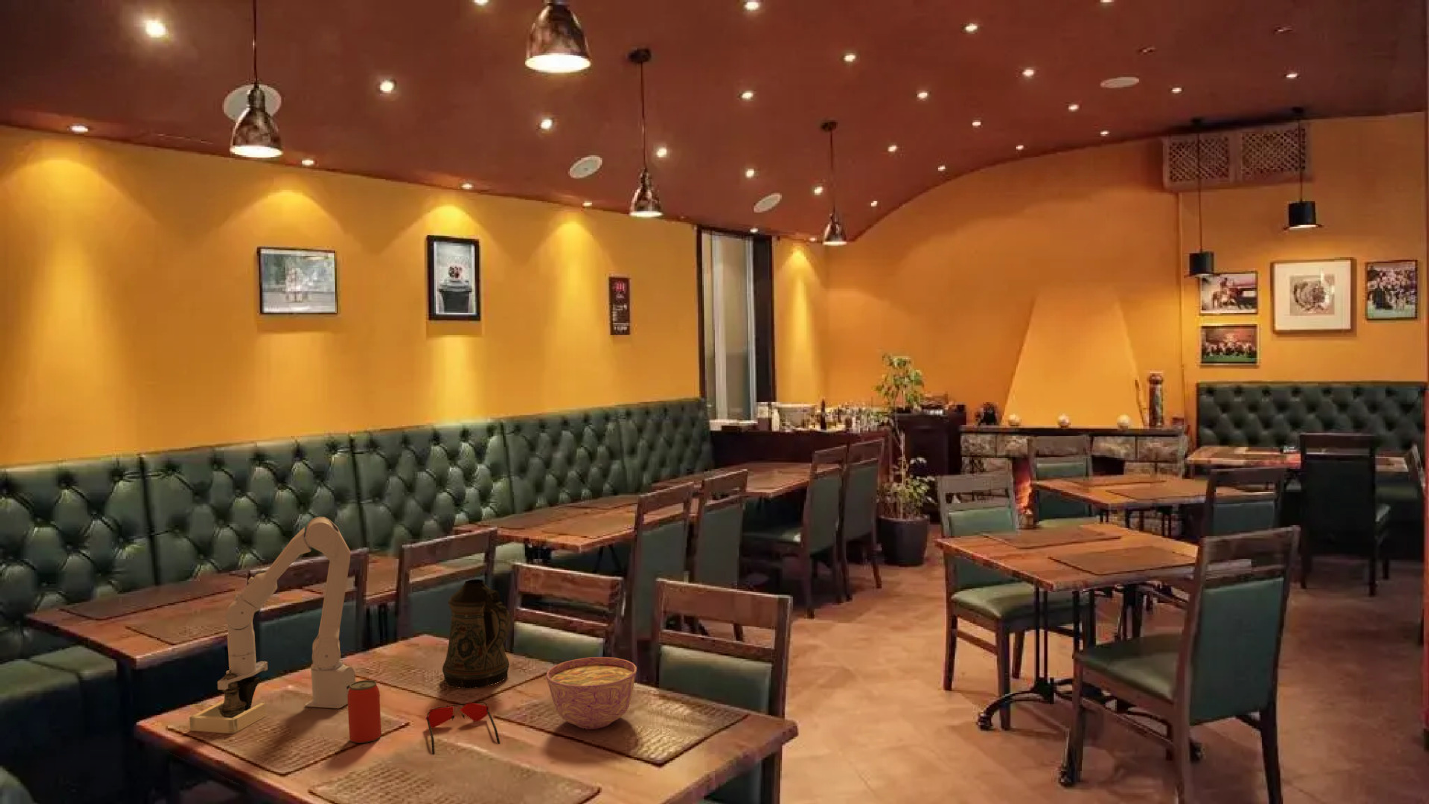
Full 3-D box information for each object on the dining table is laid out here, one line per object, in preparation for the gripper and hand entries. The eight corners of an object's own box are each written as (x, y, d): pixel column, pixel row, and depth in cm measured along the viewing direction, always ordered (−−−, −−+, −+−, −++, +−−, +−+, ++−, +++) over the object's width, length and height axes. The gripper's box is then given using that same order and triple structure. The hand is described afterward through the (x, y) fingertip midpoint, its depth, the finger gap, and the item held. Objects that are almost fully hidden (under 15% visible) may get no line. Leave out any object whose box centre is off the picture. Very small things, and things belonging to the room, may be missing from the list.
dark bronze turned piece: (235, 726, 230) (232, 674, 230) (213, 725, 232) (209, 673, 231) (252, 716, 236) (249, 665, 235) (230, 715, 237) (227, 664, 237)
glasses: (489, 719, 231) (488, 697, 231) (500, 745, 216) (499, 722, 215) (425, 729, 226) (424, 707, 226) (432, 756, 211) (431, 732, 211)
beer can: (352, 746, 216) (349, 691, 216) (347, 736, 222) (344, 682, 221) (384, 740, 219) (381, 685, 219) (378, 730, 225) (376, 677, 225)
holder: (266, 715, 236) (265, 703, 236) (233, 733, 226) (233, 720, 226) (224, 713, 239) (223, 700, 239) (190, 730, 229) (189, 717, 228)
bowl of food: (657, 719, 227) (655, 668, 226) (588, 747, 212) (585, 692, 212) (598, 699, 240) (596, 651, 240) (529, 724, 226) (527, 673, 225)
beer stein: (458, 667, 268) (453, 573, 267) (529, 668, 266) (525, 573, 264) (432, 688, 252) (427, 588, 251) (507, 690, 249) (503, 589, 248)
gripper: (248, 642, 245) (251, 698, 246) (204, 661, 231) (208, 720, 232) (273, 643, 243) (277, 699, 244) (231, 663, 229) (235, 722, 230)
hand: (245, 709), depth 238 cm, fingers closed
